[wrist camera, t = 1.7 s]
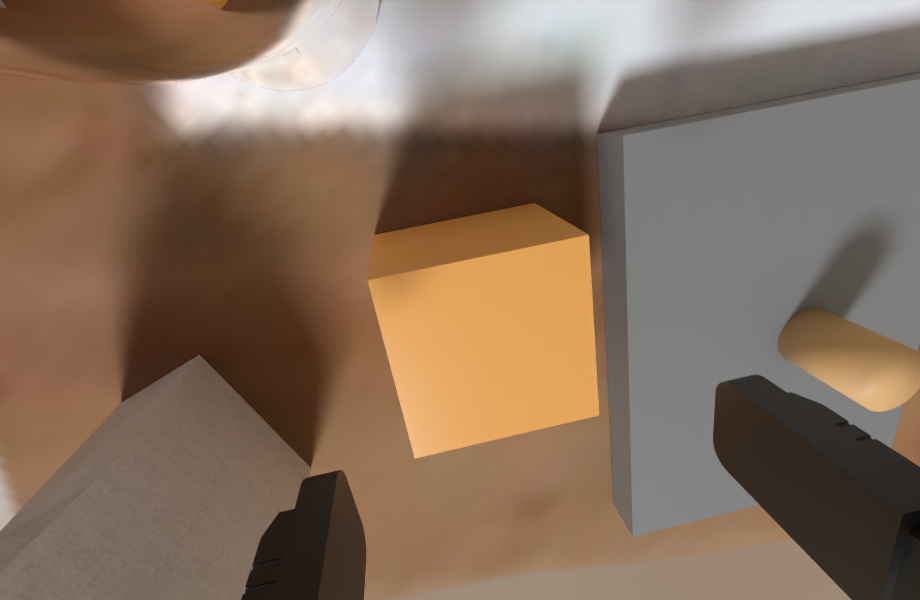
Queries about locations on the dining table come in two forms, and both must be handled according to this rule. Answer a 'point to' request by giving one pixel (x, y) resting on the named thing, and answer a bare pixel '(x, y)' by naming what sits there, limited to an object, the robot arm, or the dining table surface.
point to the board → (756, 279)
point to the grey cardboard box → (156, 500)
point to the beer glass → (184, 40)
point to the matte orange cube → (487, 325)
